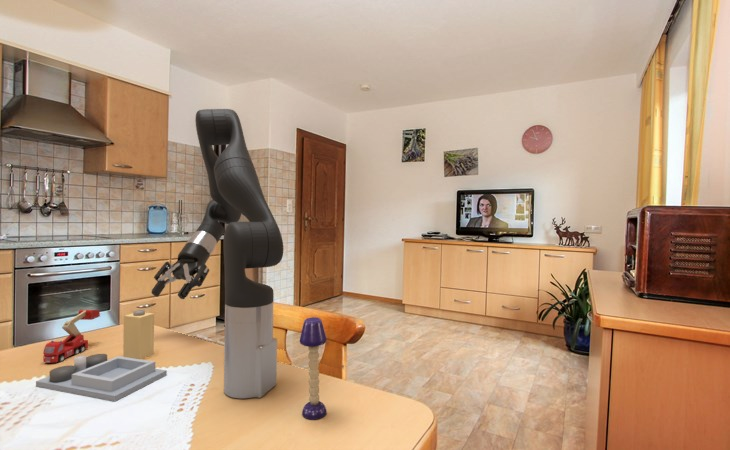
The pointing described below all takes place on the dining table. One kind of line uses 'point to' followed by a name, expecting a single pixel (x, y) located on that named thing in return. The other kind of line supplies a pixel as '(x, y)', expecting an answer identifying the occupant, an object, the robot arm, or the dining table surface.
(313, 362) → the toy lamp
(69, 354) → the toy fire truck
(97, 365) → the grey insertion tray
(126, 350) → the tan knobbed block
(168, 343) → the dining table surface
